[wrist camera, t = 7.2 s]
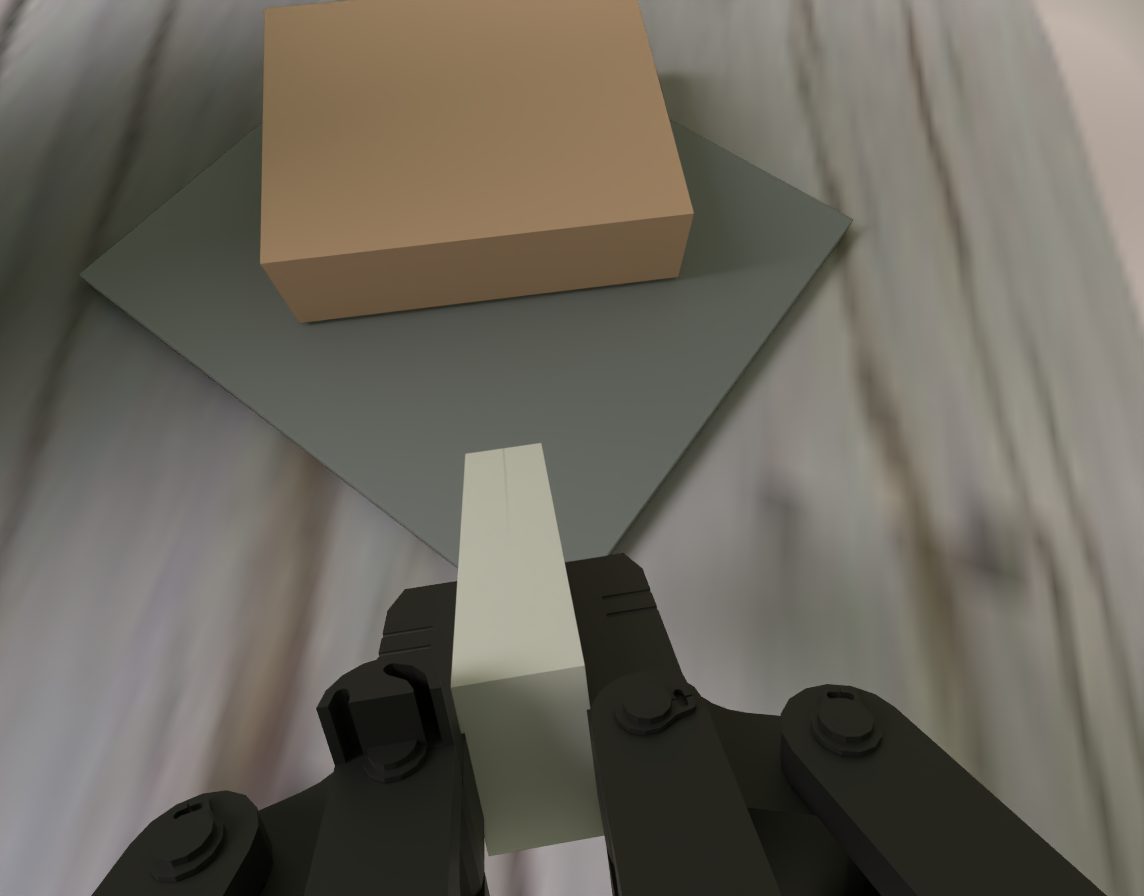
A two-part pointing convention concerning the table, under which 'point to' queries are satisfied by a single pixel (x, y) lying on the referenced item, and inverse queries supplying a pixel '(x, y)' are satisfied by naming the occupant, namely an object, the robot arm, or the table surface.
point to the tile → (463, 153)
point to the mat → (483, 348)
